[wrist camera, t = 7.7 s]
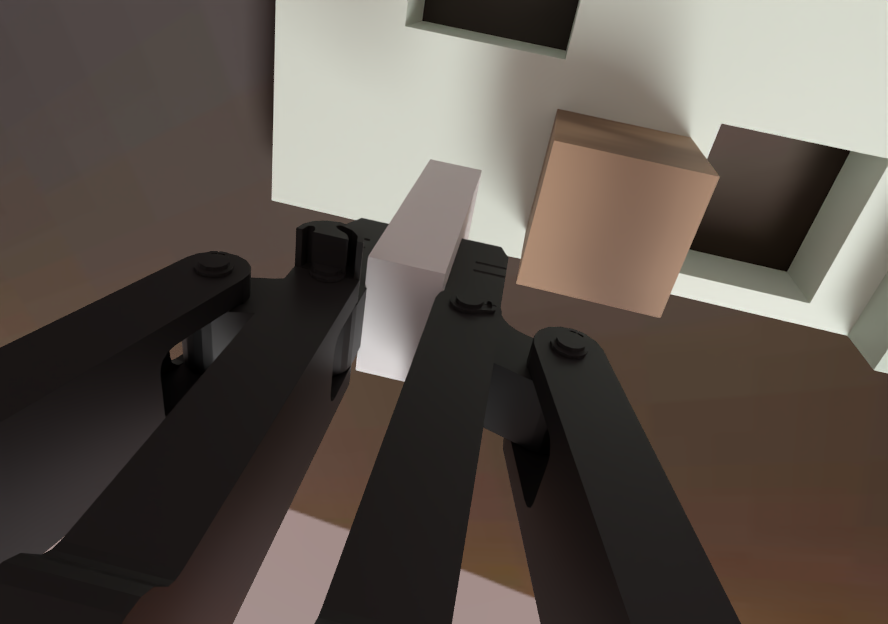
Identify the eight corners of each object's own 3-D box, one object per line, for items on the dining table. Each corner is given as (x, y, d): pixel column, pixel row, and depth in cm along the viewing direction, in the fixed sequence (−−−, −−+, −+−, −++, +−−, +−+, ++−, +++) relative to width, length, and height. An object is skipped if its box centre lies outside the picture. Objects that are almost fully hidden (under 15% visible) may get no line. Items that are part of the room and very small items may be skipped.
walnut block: (525, 230, 25) (516, 283, 21) (557, 108, 22) (553, 140, 18) (644, 258, 25) (660, 318, 20) (690, 137, 22) (719, 176, 18)
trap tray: (298, 180, 29) (245, 220, 24) (317, -260, 21) (243, -328, 16) (843, 306, 27) (901, 376, 22) (1101, -123, 19) (1278, -155, 14)
